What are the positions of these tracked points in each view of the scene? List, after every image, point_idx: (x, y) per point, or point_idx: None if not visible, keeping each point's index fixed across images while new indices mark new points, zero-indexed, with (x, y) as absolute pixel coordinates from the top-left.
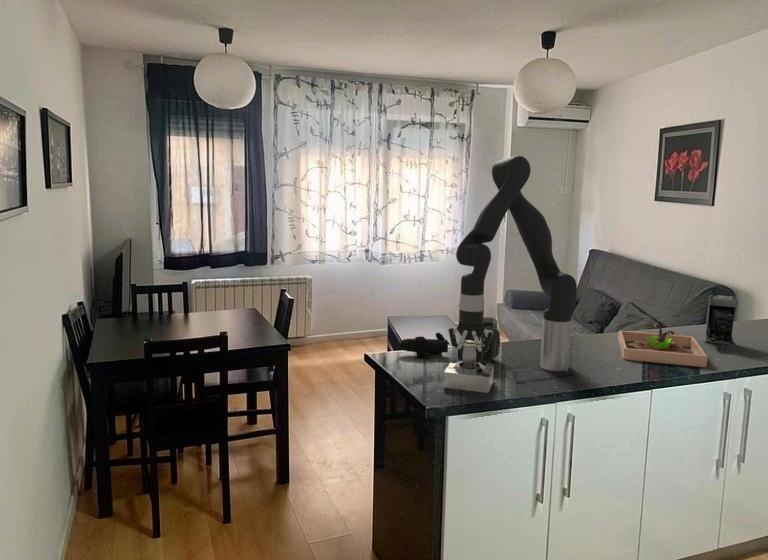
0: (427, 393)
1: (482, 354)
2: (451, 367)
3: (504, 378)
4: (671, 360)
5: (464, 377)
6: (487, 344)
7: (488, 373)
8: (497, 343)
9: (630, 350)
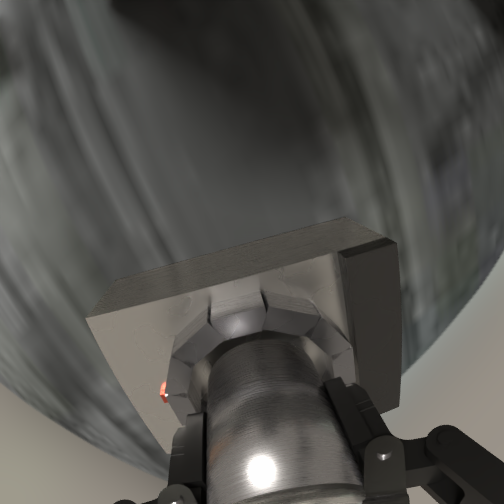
0: (167, 456)
1: (377, 412)
2: (150, 393)
3: (372, 124)
4: None
5: None
6: (456, 491)
7: (393, 405)
8: None
9: None
